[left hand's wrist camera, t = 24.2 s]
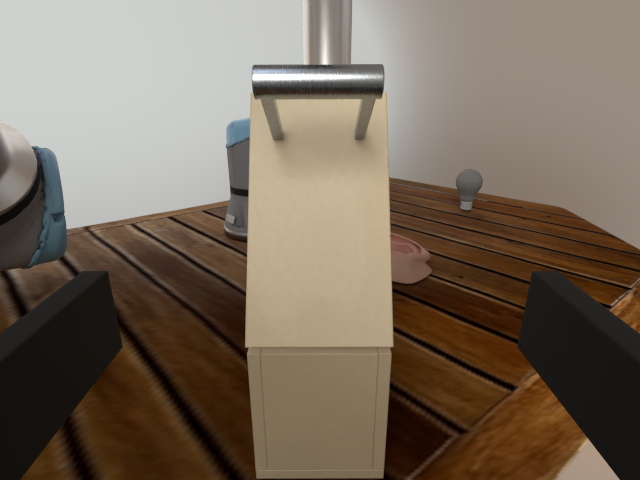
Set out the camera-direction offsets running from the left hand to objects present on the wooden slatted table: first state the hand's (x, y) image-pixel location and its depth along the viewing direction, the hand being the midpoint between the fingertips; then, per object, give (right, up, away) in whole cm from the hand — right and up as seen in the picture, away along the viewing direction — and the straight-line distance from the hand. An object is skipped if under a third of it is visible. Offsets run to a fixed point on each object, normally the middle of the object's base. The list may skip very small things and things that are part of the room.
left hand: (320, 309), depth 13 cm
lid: (0, +4, +15) cm, 16 cm away
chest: (0, -13, +26) cm, 29 cm away
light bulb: (+36, +9, +87) cm, 94 cm away
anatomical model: (+13, -2, +55) cm, 56 cm away
